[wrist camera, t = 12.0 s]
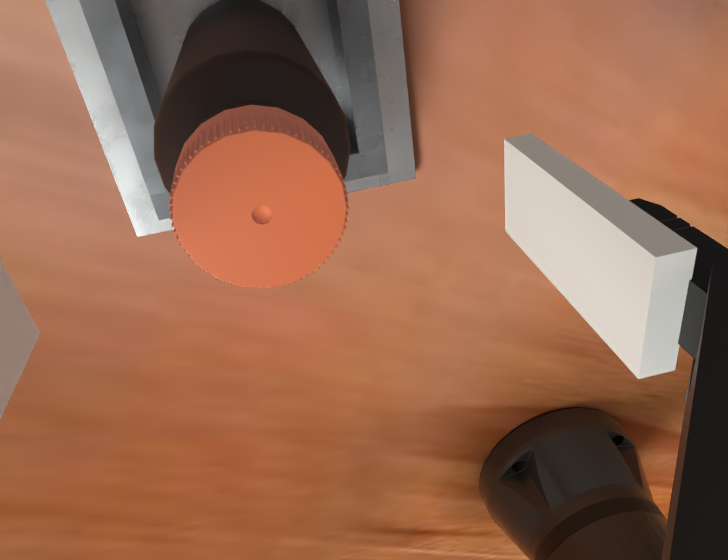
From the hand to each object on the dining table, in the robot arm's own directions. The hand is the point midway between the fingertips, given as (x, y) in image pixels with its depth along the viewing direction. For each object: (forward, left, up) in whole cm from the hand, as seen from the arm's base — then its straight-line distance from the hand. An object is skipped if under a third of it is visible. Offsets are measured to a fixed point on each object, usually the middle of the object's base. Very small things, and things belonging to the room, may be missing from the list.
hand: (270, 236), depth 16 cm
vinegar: (0, 0, -21) cm, 21 cm away
